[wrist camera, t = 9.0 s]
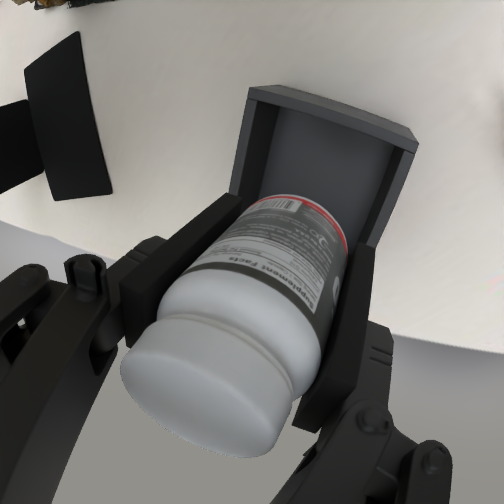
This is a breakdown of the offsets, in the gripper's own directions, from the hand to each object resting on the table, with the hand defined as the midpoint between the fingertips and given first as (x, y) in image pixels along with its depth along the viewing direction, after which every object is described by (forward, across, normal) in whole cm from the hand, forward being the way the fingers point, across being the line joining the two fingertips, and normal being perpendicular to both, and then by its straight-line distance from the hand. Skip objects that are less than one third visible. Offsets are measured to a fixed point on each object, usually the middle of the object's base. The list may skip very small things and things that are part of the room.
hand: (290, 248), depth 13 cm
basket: (+17, -1, -2) cm, 17 cm away
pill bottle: (+1, 0, 0) cm, 1 cm away
